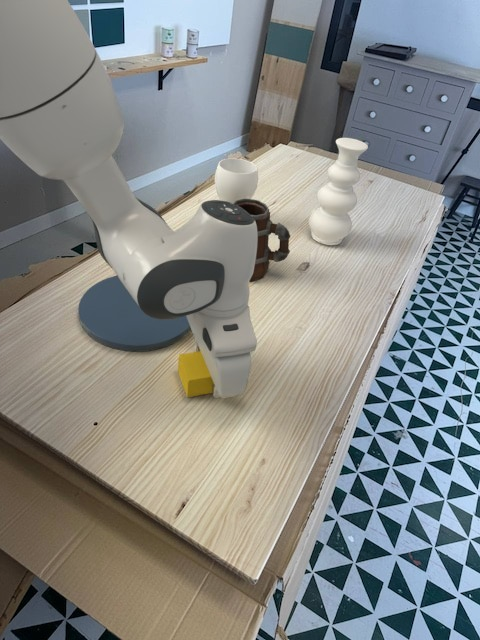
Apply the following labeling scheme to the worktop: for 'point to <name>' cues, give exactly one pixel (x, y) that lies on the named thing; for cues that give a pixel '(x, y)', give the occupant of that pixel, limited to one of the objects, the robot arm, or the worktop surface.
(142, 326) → the plate
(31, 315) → the worktop surface
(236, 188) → the cup
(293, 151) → the worktop surface
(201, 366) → the yellow block
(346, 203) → the vase
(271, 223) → the mug
